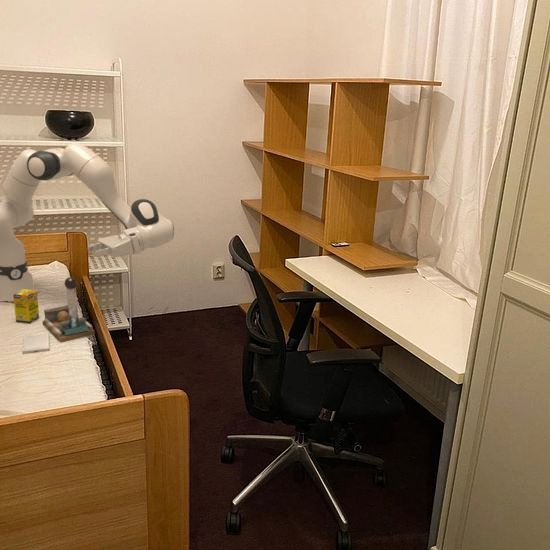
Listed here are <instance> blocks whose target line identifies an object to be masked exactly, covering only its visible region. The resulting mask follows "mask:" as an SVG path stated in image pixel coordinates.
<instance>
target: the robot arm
mask: <svg viewBox="0 0 550 550" xmlns="http://www.w3.org/2000/svg"><path fill="white" fill-rule="evenodd" d="M6 175H7V176H6V177H5V179H4V182H3V184H2V190H3V193H4V195H5V197H4V199H2V200H1V201H0V300H1V301H0V302H4V301H8V303H9V302H14V298H13V294H14V293H17V292H19V291H21V290H22V289H27V290H36V291H37V292H38V293H40V291H39V289H38V288H35V285H34V279H33V274H32V273H31V272H29V269H28V268H29V267H28V266H29V265H28V261H27V260H26V253H25V252H26V251H25V245H24V242H23V241H22V240H20V239H19V238H17V237H16V235H15V233H14V229H16V228H19V227H23V226H24V225H25V224H27V223H28V222H30V221H31V220H32V219H34V213H35V211H34V208H33V205H32V204H31V203H32V199H33V197H34V194H35V193H36V191H37V189H38V186H39V185H40V183H41V181H43V182H44V181H52V180H59V179H62V178H66V177H71V176H75V177H76V178H77V179H79V181H80V182H82V183H83V184H84V185H85V186H86V187H87V188H88V189H89V190H90V191H91V192H92V193H93V194H94V195H95V196H96V197H97V198H98V199H99V201H100V202H101V203H102V204H103V205H104V207H105V208H106V209H108V211H110V213H112V214H113V216H115V217H116V219H117V220H118V221H119V222H120V223H121V224H122V225H123V226H124V228H125V229H122V231H121V234H118V235H117V234H114V235H109V236H105V237H101V238H98V239H97V243H94V244H93V245H90V246H87V251H88V252H89V253H92V252H93V253H94V255H95V257H101V256H111V257H113V258H119V257H120V258H121V257H125V256H129V255H140V254H141V252H143V251H146V250H147V249H154V248H158V247H161V246H163V245H166V244H169V243H171V241H172V240H173V239H174V236H175V227H174V223H173V222H172V221H171V219H169V218H167V217H165V216H164V215H163V214H162V213H161V212H160V211H159V210H158V208H157V206H156V205H155V203H154V202H153V201H151V200H148V199H146V198H145V199H144V198H141V199H137V200H135V201H134V202H132V204H131V206H129V204H128V203H127V202H126V201H125V200H124V199H123V198H122V197H121V196H120V194H119V191H118V190H117V186H116V183H115V175H114V171H113V170H112V168H111V166H109V164H108V163H107V161H105V160H104V159H103V158H101V156H99V154H97V153H96V152H94V151H93V150H92V149H90V148H89V147H87V146H85V145H83V144H82V143H80V142H72V143H69V144H68V145H66V146H65V147H55V148H54V147H52V148H49V149H44V150H35V149H31V148H30V149H25V150H22V151H21V152H20V154H19V155H18V156H17V158H16V159H15V160H14V162H13V164H12V166H11V167H10V169H9V172H8V174H6Z"/></svg>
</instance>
